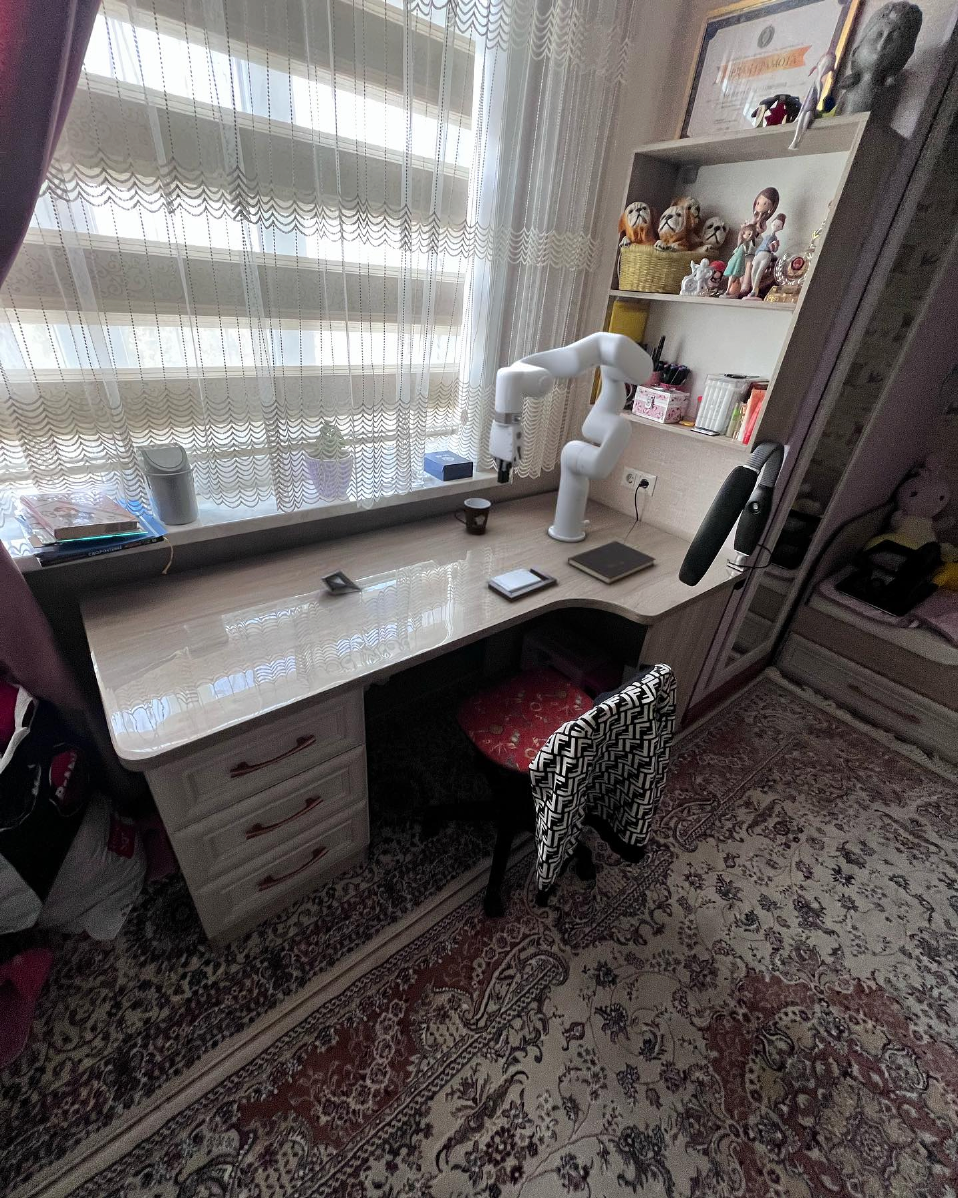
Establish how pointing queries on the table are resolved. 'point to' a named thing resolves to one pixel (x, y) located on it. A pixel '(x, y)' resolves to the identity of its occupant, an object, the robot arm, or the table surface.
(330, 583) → the paper boat
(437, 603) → the table surface
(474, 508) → the coffee mug
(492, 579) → the hard drive
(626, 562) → the hardcover book
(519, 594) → the dark brown open frame
